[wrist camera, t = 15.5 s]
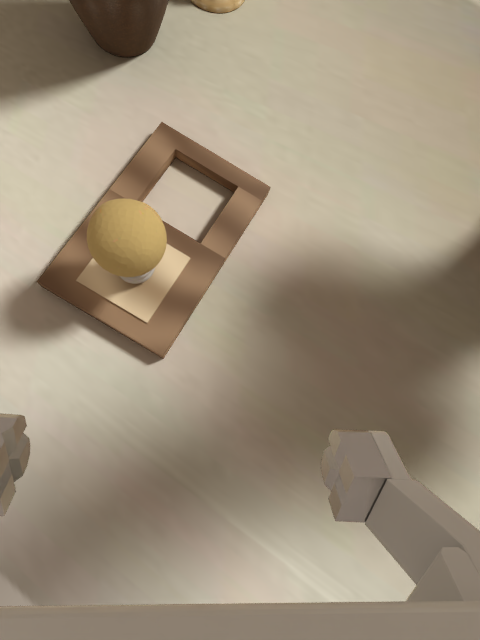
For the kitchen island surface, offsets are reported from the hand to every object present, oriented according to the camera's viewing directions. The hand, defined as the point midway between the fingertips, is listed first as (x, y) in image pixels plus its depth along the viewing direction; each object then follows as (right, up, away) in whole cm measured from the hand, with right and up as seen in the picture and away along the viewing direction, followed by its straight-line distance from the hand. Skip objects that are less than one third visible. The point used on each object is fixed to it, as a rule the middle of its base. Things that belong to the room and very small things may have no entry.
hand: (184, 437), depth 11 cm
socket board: (-7, +12, +32) cm, 35 cm away
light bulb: (-9, +8, +30) cm, 32 cm away
